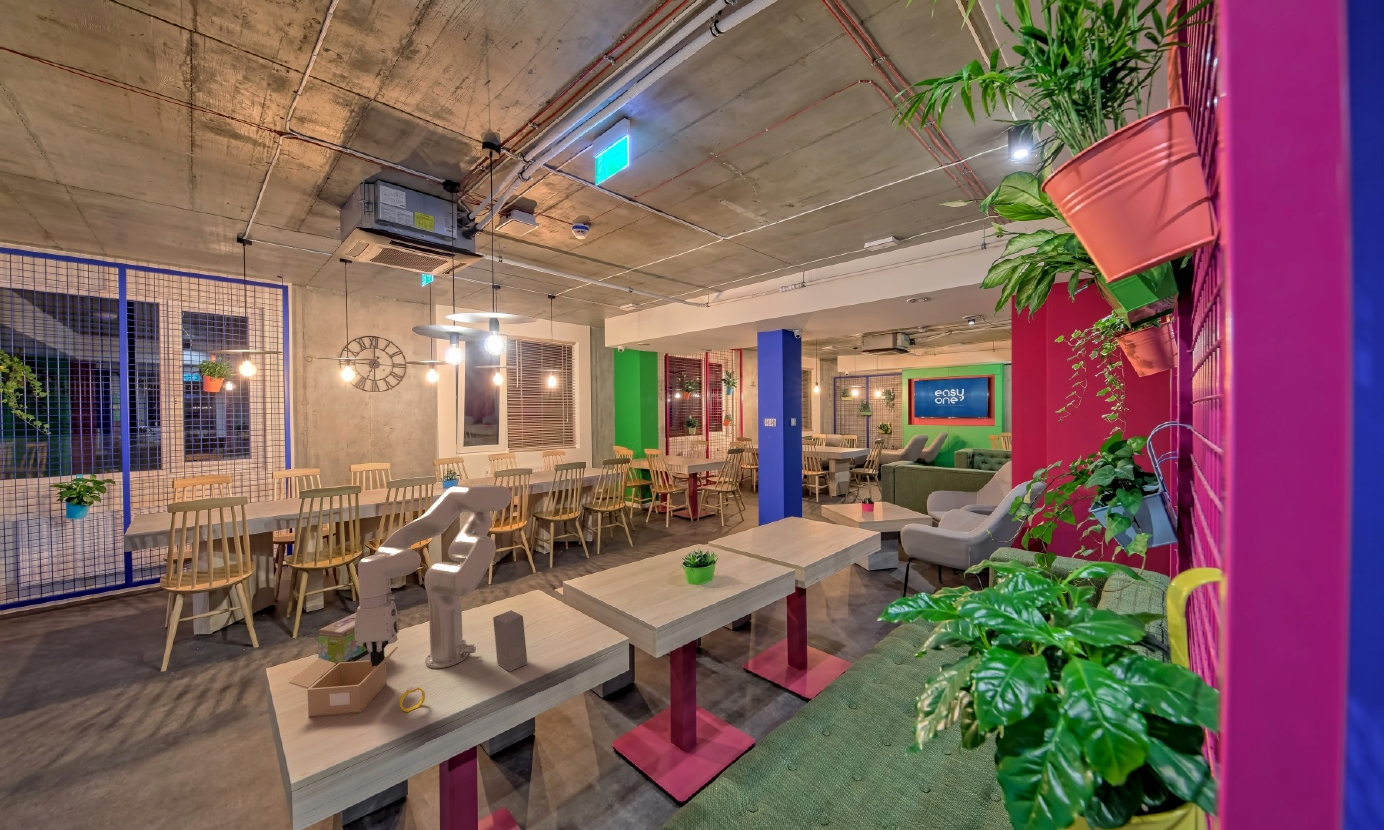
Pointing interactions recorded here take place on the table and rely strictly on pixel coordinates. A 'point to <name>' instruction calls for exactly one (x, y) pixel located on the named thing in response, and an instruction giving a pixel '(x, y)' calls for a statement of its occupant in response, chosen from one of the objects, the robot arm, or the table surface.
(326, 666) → the flap
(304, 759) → the table surface
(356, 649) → the tea box
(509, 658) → the skincare box
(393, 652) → the flap
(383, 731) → the table surface
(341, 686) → the carton
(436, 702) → the table surface
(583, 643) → the table surface
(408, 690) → the watch
